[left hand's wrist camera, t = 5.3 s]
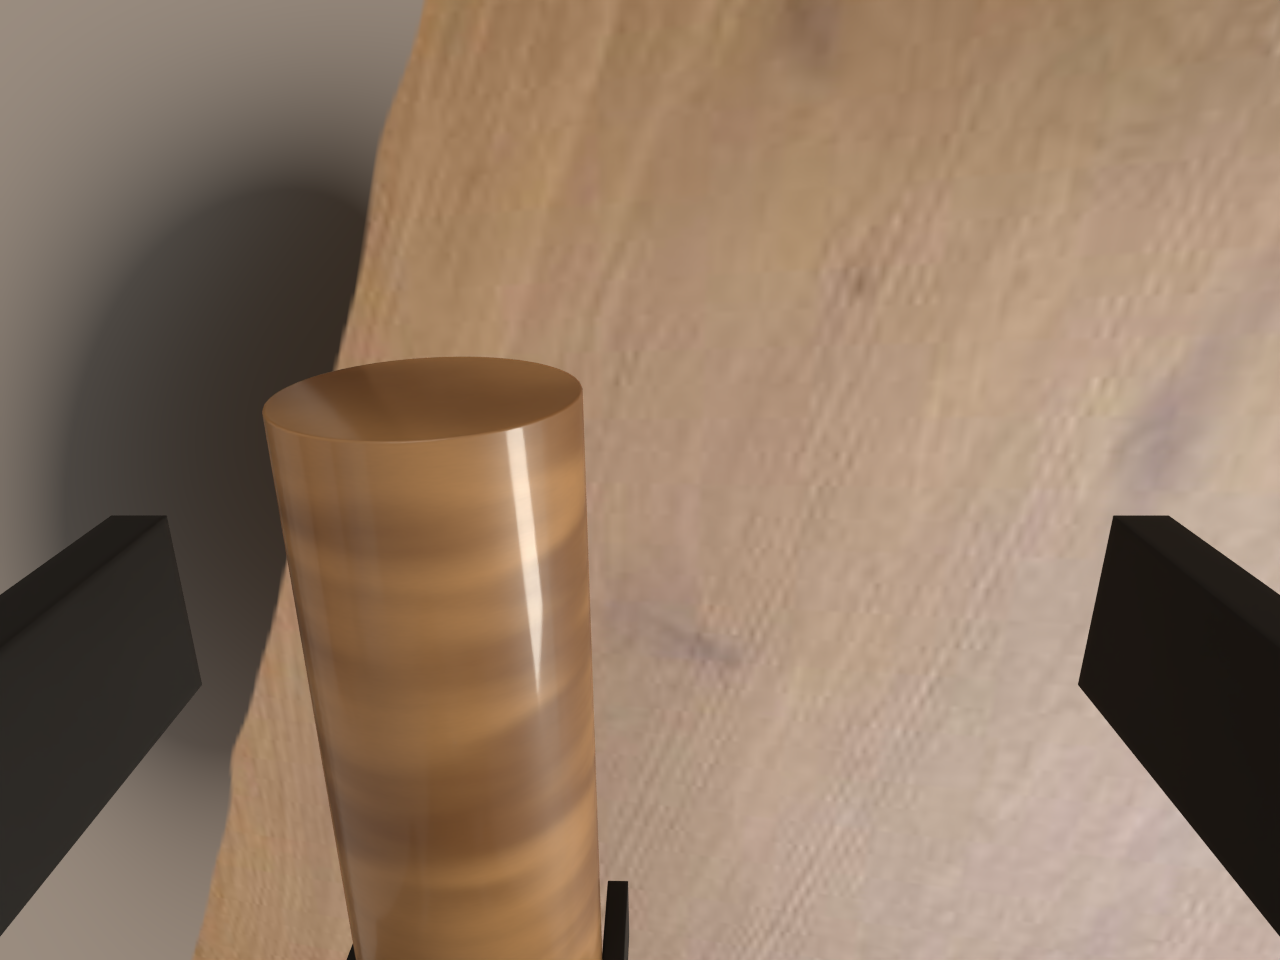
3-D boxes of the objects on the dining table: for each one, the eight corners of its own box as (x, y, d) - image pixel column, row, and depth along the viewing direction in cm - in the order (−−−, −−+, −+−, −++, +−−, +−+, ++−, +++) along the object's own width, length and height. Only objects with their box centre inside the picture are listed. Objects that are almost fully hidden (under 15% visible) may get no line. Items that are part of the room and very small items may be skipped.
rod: (329, 356, 27) (199, 441, 19) (593, 355, 26) (565, 441, 19) (413, 962, 36) (347, 1180, 28) (611, 966, 35) (597, 1186, 28)
